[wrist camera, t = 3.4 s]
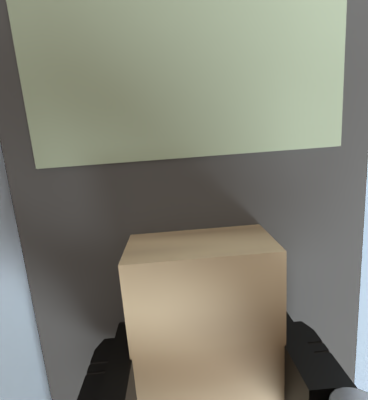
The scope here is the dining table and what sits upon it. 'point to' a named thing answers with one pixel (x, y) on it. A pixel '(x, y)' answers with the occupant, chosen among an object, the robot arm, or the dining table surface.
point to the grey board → (183, 150)
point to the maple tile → (206, 313)
